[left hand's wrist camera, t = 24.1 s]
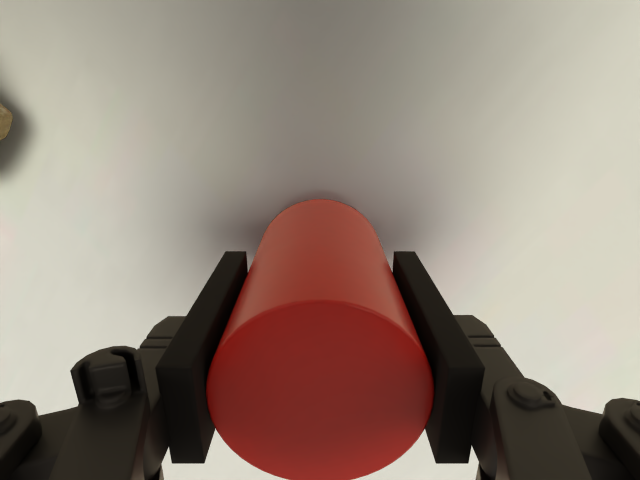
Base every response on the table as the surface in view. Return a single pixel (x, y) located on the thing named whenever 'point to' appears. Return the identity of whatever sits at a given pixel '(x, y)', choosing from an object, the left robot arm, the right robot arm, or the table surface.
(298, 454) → the can
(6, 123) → the sculpture
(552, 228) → the table surface
